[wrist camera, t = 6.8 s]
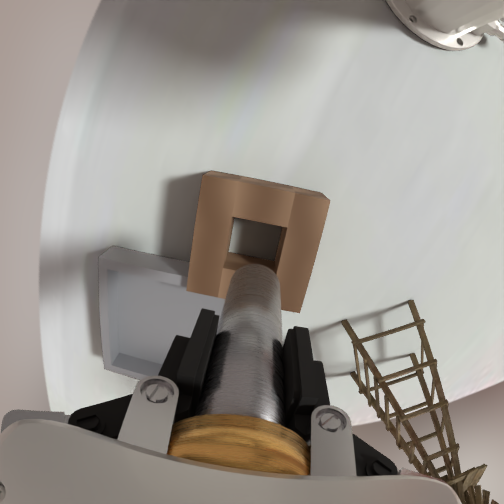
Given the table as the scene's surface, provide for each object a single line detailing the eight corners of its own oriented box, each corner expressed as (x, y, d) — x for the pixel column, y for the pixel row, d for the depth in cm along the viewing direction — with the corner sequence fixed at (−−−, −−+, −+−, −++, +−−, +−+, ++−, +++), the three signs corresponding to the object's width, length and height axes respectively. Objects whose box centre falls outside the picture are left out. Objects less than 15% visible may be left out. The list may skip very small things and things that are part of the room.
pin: (300, 260, 17) (340, 474, 5) (282, 324, 19) (287, 530, 7) (223, 244, 17) (142, 445, 5) (212, 311, 18) (152, 510, 7)
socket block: (321, 192, 28) (330, 200, 24) (296, 292, 31) (299, 313, 27) (211, 170, 28) (202, 174, 24) (195, 273, 31) (186, 290, 27)
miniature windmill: (414, 357, 33) (511, 573, 5) (349, 378, 35) (403, 621, 6) (412, 295, 31) (566, 542, 2) (339, 317, 32) (422, 623, 4)
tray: (268, 277, 31) (268, 293, 28) (242, 383, 35) (240, 402, 32) (113, 245, 30) (98, 257, 27) (114, 352, 35) (104, 368, 32)
